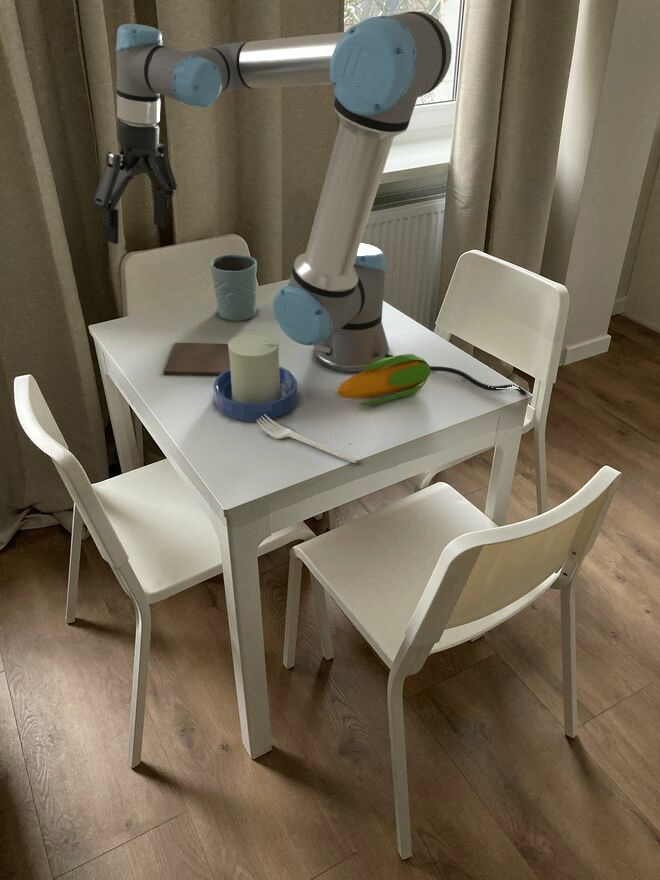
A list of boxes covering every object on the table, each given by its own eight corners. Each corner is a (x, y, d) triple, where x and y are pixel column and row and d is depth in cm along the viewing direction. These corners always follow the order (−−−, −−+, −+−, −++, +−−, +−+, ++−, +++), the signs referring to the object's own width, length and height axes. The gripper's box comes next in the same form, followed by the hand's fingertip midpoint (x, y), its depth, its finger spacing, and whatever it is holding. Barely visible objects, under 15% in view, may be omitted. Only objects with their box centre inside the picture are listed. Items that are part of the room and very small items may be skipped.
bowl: (298, 379, 146) (298, 363, 144) (294, 423, 134) (294, 406, 131) (221, 378, 146) (219, 362, 144) (209, 421, 134) (208, 404, 132)
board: (260, 347, 156) (260, 344, 156) (255, 376, 147) (255, 373, 146) (175, 345, 157) (174, 342, 156) (164, 374, 147) (163, 371, 146)
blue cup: (231, 326, 164) (228, 275, 157) (205, 311, 170) (201, 261, 163) (268, 313, 170) (266, 263, 163) (241, 299, 176) (238, 250, 169)
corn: (441, 356, 138) (348, 382, 130) (439, 392, 142) (348, 419, 134) (418, 342, 144) (327, 365, 136) (417, 377, 148) (328, 402, 140)
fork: (350, 469, 123) (351, 460, 122) (255, 429, 132) (254, 421, 131) (361, 459, 125) (361, 450, 124) (266, 421, 134) (265, 412, 133)
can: (279, 412, 136) (277, 354, 129) (228, 411, 136) (224, 353, 129) (282, 386, 143) (281, 329, 136) (234, 385, 143) (231, 328, 136)
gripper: (168, 108, 146) (164, 214, 158) (70, 123, 128) (74, 241, 140) (198, 119, 144) (192, 225, 156) (102, 135, 125) (104, 255, 137)
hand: (136, 233), depth 148 cm, fingers open, 13 cm apart
